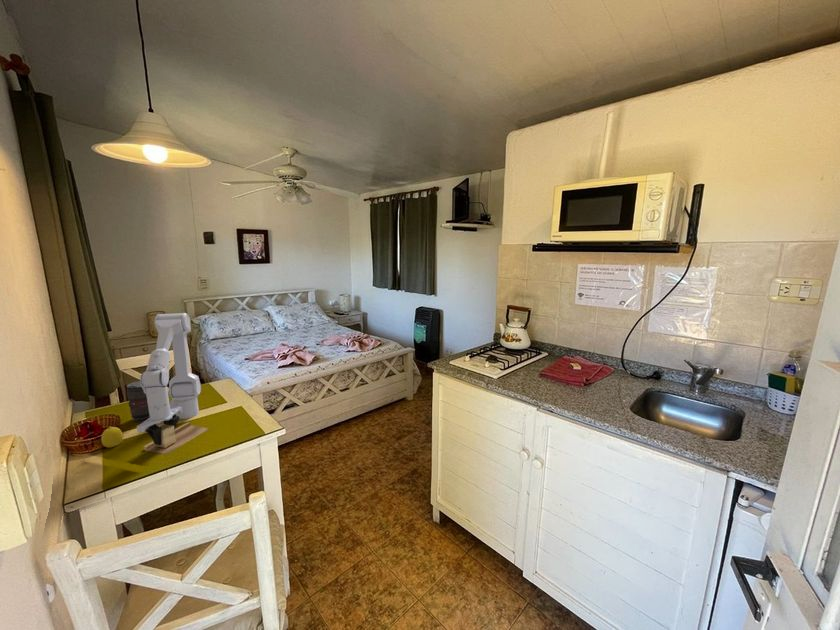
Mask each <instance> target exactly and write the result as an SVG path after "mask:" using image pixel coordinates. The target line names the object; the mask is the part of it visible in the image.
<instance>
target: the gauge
mask: <svg viewBox="0 0 840 630" xmlns="http://www.w3.org/2000/svg"><path fill="white" fill-rule="evenodd" d="M158 426H159V427H162V429H161V440H162V443H161V445H155V443H154V441H153V440H152V441H153V443H154V446H158V447H164V448H166V447H168V446H169V445H171V444H173V443H174V442H176V437H175V430H174V426H173V425H167V424H164V423H162V424H159V425H158Z"/></svg>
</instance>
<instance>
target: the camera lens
mask: <svg viewBox="0 0 840 630" xmlns="http://www.w3.org/2000/svg"><path fill="white" fill-rule="evenodd" d="M126 394H127V399H128V407H129V411H130V414H131V418H132V419H133V421H134V422H135V423H143V422H144V421H146V420H147V419H149V418H150V414H149V408H148V402H147V396H146V394H145V393H144V391H143V388H142V387H141V385H140V380H138V381H133V382H131V383H129V384H127V385H126Z"/></svg>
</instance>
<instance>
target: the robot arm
mask: <svg viewBox="0 0 840 630" xmlns="http://www.w3.org/2000/svg"><path fill="white" fill-rule="evenodd" d="M191 325H192V324H191V318H190V316H189V314H188V313H186V312H181V313H180V312H179V313H158V314H156V315H155V317H154V327H155V329H156V331H157V339H156V345H155V346H156V348H155V349H154V350H153V351H151V352H150V355H149V358H148V359H149V360H148V363H147V366H146V370H144V371H143V372H142V373H141V374H140V379H139V381H140V385H141V387H142V388H143V391H144V393H145V394H146V396H147V402H148V408H149V414H150V418H149V419H147V420H146V421H144V422H141V423H140V424H138V425H137V426H136V429H137V432H138V433H144V432H146V433H147V435H149V437H150V438H151V440H152V441H154V443H155V445H161V443H162V440H161V429H162V427H159V425H158V424H160V423H161V422H163V423H162V424H167V425H173V426H174V430H175V429H176V427H177V425H178V422H179V420H180V419H182V420H183V419H190V418H194V417H196V416H198V415H199V414H200V409H199V401H198V396H199V395H200V393H201V391H202V385H201V382H200V378H199V375H196V374H194V373H192V372H191V368H190V367H191V366H190V356H189V346H188V336H187V335H188V334H189V333H190V332H192V329H191V328H192V327H191ZM171 346H172V351H173V352H172V353H173V362H174V373H175V375H174V376H173V377H172V378H171V379H170V370H169V364H170V363H171V362H170V361H171V356H172V354H171V353H170V351H169V350H170V348H171ZM169 379H170V380H169ZM169 397H170V398H171V400H170V398H169Z"/></svg>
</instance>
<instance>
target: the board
mask: <svg viewBox="0 0 840 630" xmlns="http://www.w3.org/2000/svg"><path fill="white" fill-rule="evenodd" d="M209 429H210V428H209V427H203V426H198V425H191V422H186V423H184V424H182V425H180V426H178V427H177V428H175V437H176V442H174V443H173V444H171V445H169V446H168V447H166V448H164V447H158V446H154V443H153V440H152V441H151V442H149V443H146V444H145V445H143V446H142V448H143V451H147V452H151V453H153V452H154V453H156V454H157V453H158V454H161V455H162V454H163V455H168V454H171V453H172V452H173V451H175V450H177V449H178V448H180V447H181V446H184V445H185V444H187V443H189V441H192V440H193V439H195V438H196V437H198V436H200V435H202V434H203V433H205V432H206V431H208V430H209Z"/></svg>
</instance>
